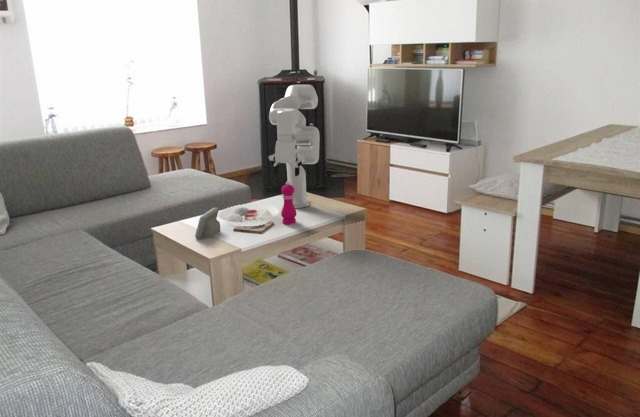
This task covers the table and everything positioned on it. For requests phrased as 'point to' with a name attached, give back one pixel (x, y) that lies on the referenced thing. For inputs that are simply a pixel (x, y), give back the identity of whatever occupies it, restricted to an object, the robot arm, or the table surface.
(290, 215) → the pepper mill
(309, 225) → the table surface
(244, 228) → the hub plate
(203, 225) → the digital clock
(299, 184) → the robot arm
